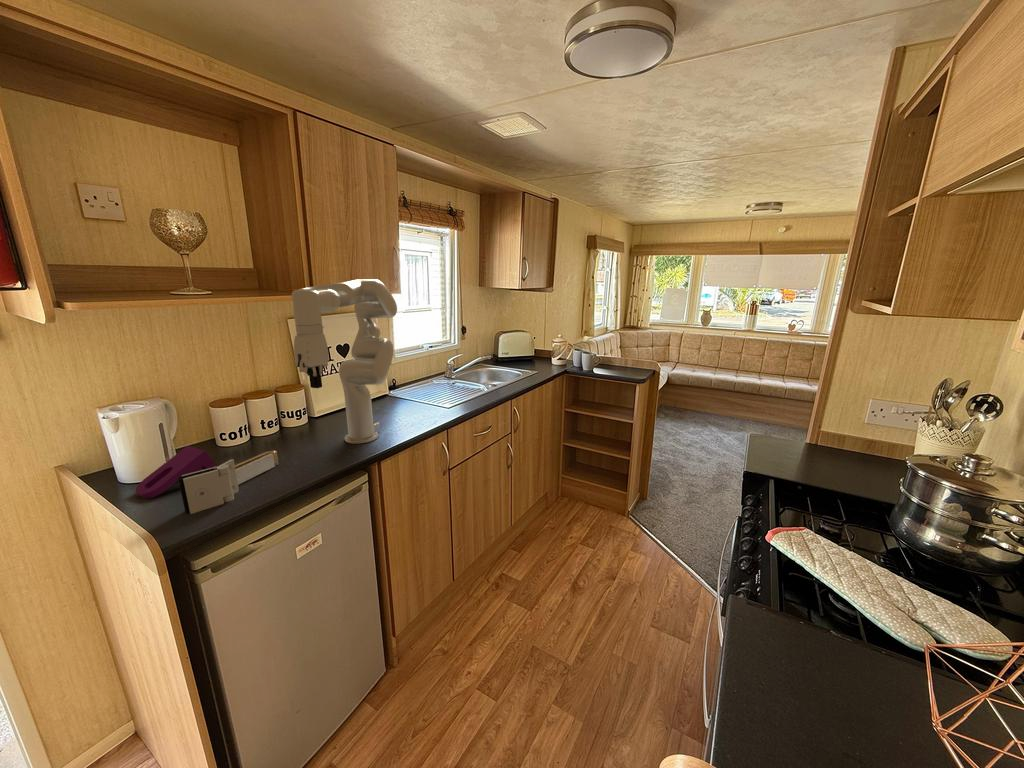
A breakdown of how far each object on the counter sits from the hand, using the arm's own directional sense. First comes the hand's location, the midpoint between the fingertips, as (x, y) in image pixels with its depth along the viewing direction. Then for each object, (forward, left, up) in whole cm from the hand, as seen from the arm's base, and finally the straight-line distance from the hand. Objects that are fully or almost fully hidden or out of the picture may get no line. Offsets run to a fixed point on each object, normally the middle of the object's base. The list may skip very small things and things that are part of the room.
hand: (316, 387), depth 131 cm
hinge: (+29, -12, -27) cm, 42 cm away
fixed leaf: (+13, -17, -27) cm, 35 cm away
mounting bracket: (+25, -33, -28) cm, 50 cm away
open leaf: (+14, -16, -27) cm, 34 cm away
